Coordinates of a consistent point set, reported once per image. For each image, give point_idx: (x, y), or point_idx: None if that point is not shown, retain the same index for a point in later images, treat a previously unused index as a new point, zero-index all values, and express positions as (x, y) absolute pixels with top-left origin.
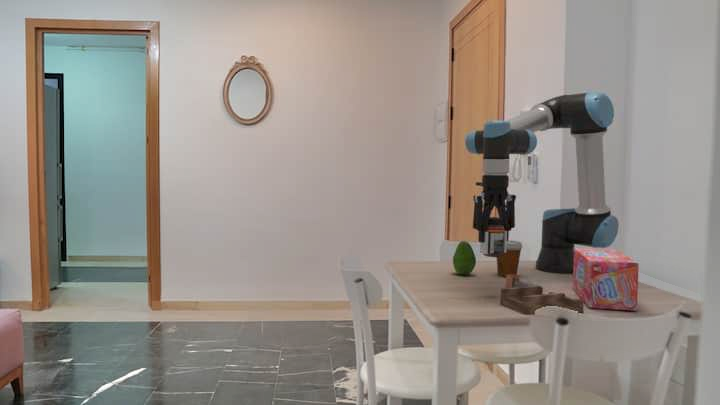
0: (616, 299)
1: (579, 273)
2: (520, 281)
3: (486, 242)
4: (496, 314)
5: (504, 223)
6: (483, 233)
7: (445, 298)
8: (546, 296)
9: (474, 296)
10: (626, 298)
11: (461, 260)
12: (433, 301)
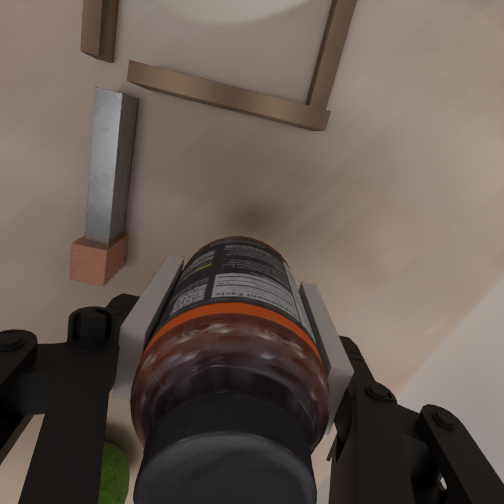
0: None
1: None
2: (99, 214)
3: (326, 320)
4: (441, 41)
5: (107, 399)
6: (356, 380)
7: (397, 281)
8: None
9: (298, 252)
10: None
11: (113, 487)
12: (458, 274)
